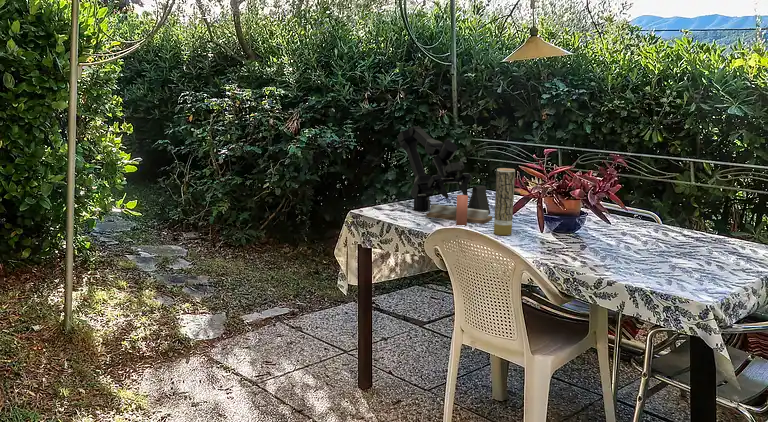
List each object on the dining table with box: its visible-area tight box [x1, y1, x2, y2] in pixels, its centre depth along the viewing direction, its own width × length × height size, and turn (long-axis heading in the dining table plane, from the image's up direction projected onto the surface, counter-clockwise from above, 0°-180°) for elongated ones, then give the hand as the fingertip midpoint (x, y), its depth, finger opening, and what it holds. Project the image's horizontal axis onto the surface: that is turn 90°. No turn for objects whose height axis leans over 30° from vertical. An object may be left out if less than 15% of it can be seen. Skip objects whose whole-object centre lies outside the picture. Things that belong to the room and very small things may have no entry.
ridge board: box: [425, 203, 493, 225], centre depth 278 cm, size 26×10×4 cm, turn 62°
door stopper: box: [468, 185, 491, 215], centre depth 289 cm, size 9×6×12 cm, turn 39°
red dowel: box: [455, 194, 469, 227], centre depth 265 cm, size 4×4×12 cm
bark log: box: [493, 167, 516, 237], centre depth 249 cm, size 7×7×25 cm
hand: (457, 197), depth 267 cm, fingers open, 9 cm apart
